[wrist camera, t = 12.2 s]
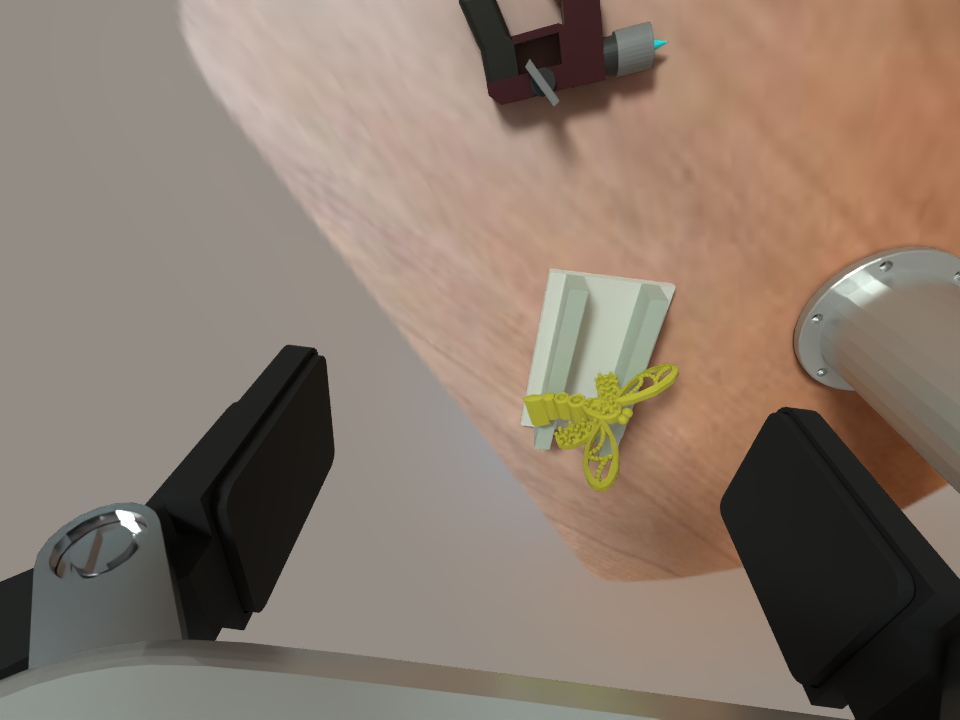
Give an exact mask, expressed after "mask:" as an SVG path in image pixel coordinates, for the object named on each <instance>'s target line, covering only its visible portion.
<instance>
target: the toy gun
mask: <svg viewBox="0 0 960 720" xmlns="http://www.w3.org/2000/svg"><path fill="white" fill-rule="evenodd" d="M459 4H460V6H461V9H462V11H463V13H464V15H465V18H466V20H467V22H468V24H469V27H470V29H471V31H472V33H473V36H474V38H475V40H476V43H477V45H478V47H479V49H480V51H481V55H482V60H483V66H484V71H485V76H486V81H487V88H488V94H489V96H490V97H491V98H493V99H494V100H496V101H497V102H498V103H500V104H501V105H503V104H507V103H511V102H515V101H519V100H523V99H527V98H531V97H535V96H547V98H548V99H549V101H550V102H551V103H552V106H555V105H556V104H557V103H558V102H559V99H558V98H557V96H556V95H555V94H554V91H558V90H562V89H566V88H570V87H571V88H573V87H577V86H581V85H585V84H589V83H593V82H597V81H601V80H605V79H606V78H605V76H609V75H613V74H615V77H620V76H624V75H628V74H632V73H636V72H640V71H644V70H648V69H651V68H652V66H653V61H654V50H656V49H658V48H659V47H661V46H662V45H664V44H665V43H667V42H669V41H660V40H654V34H653V29H652V25H651V23H650V22H645V23H642V24H638V25H634V26H631V27H627V28H623V29H620V30H616V31H613V33H612V35H611V36H608V37H604V38H602V24H601V11H600V0H562V2H561V3H560V9H561V18H562V24H559V23H558V24H554V25H551V26H547V27H543V28H540V29H536V30H533V31H529V32H526V33H522V34H518V35H515V36H511V35H510V33H509V30H508V28H507V26H506V23H505V21H504V18H503V16H502V13H501V11H500V8H499V6H498V4H497V1H496V0H459ZM555 34H557V43H558V51H559V60H560V64H558V65H554V66H550V67H546V68H539V69H536V67H535V66H534V64H533V63H532V62H531V60H530V59H529V61H528V63H527V64H526V66H525V67H526V69H527V70H528V72H527V73H523V74H520V75H519V71H518V65H517V59H516V52H515V46H514V45H518V44H522V43H526V42H529V41H533V40H537V39H540V38H544V37H547V36H551V35H555Z"/></svg>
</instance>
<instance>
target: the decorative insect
mask: <svg viewBox="0 0 960 720" xmlns="http://www.w3.org/2000/svg"><path fill="white" fill-rule="evenodd" d="M659 370H660V371H659ZM667 370H672V372H671V373H669V374H668V375H667V376H666V377H665V378H664V379H663V380H662V381H660V382H659V383H658V381H659V380H660V377H661V375H662V374H663V373H664V372H666V371H667ZM656 371H659V372H658V374H656V376H655V375H652V373H654V372H656ZM678 375H679V374H678V368H677V367H676V366H675V364H661V365H658V366H654V367H651V368H649V369H647V370H645V371H643V372H641V373H639V374H637V375H636V376H635V377H634V378H633V379H632V380H630V381H629V382H628V383H627V384H626V385H625V386H624V387H623V388H621V389H620V387H619V384H618V380H617V375H614V376H613V372H612V371H610V372H609V375H606V374H605V375H603V376H602V374H601V373H598V378H597V377H596V378H594V380H595V381H596V385H595V386H596V389H597V394H598V397H596V398H588V399H586V397H585V396H583V395H581V394H574V395H571V396H569V394H568V393H566V392H562V393H558V394H557V395H556V396H555V394H553V393H551V392H548V393H545V394H543V395H538V394H532V395H529V396H526V397H525V398H523V399H524V402H525V405H526V408H527V411H528V414H529V417H530V420H531V423H532V425H534V426H539V427H540V426H544V425H548V424H550V423H551V420H556V419H558V418H560V419H562V420H569V419H571V418H572V421H573V422H574V423H575V424H572V421H568V424H569V426H568V427H566V428H564V429H562V427H558V431H559V434H558V433H557V432H555V433H554V435H555V437H556V438H555V439H556V442H557V445H558V448H562V449H565V450H569V449H573V448H577V447H579V446H581V445H583V444H585V443H587V444H586V446H585V451H584V458H583V467H584V473H585V476H586V479H587V481H588V484H589V485H590V486H591V487H592V488H593V489H594V490H595V491H599V492H605V491H606V490H608V489H609V488H610V487H612V486H613V485H614V483H615V481H616V478H617V476H618V474H619V452H618V448H617V444H616V440H615V437H614V435H613V433H612V431H611V429H610V427H609V426H608V425H607V424H613V423H616V422H618V423H619V424H620V425H626V424H627V423H628V421H629V418H631V417H632V415H633V412H632V410H631V409H630V408H624V409H623V410H622V406H627V405H631V404H635V403H638V402H640V401H643V400H646V399H648V398H651V397H654V396H656V395H657V394H659V393H660V392H662V391H663V390H665V389H666V388H668V387H669V386H671V385H672V384H674V382H675V380H676V378H677V377H678ZM644 377H646V378H647V377H649V378H651V379H653V381H654V385H653V386H651V387H649V388H646V389H644V390H642V391H640V392H638V393H635V392H637V390H639V389H640V387H642V384H643V383H644V381H643V380H644V379H643V378H644ZM638 381H639V383H638V384H637V386H635V388H633V389H632V391H630V392H629V393H627V392H628V390H629V389H630V388H631V387H632V386H633V385H634V384H635V383H637V382H638ZM626 393H627V394H626ZM625 394H626V396H625ZM608 412H609V413H608ZM589 420H593V421H589ZM600 431H601V438H600V441H599V442H600V443H598V446H596V449H595V448H593V449H592V445H593V443H594V441H595V440H596V438H597V436H598V434H599V432H600ZM582 434H584V435H582ZM606 435H607V436H608V438H609V440H610V444H611V447H612V452H613V453H612V454H609V455H608V456H606V455H605V456H604V457H603V456H600V457H598V456H593V453H597V450H598V451H599V450H600V449H601V447H603V444H604V443H605V437H606ZM573 438H574V439H575V440H572V439H573ZM563 440H564V441H563ZM591 449H592V451H591ZM591 455H592V456H591ZM612 458H613V459H612ZM608 459H610V460H611V459H612V463H611V466H610V470H609V473H608V476H607V477H606V478H604V479H603V480H602V481H600V478H601V475H600V474H601V473H602V471H601V470H603V467H604V466H605V465H606V463H607V462H608V461H609V460H608ZM589 460H592V461H594V460H595V461H602V462H601V463H600V465H599V466H598V470H597V471H596V472H597V474H596V475H595V476H596V478H597V479H594V478H593V476H592V474H591V472H590V470H589Z"/></svg>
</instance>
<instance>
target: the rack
mask: <svg viewBox="0 0 960 720" xmlns="http://www.w3.org/2000/svg"><path fill="white" fill-rule="evenodd" d="M675 288H676V287H675V286H674V284H673V283H665V282H657V281H649V280H641V279H633V278H625V277H617V276H608V275H600V274H592V273H584V272H576V271H568V270H560V269H551V268H550V269H549V274H548V279H547V284H546V290H545V295H544V300H543V305H542V311H541V316H540V321H539V326H538V331H537V337H536V342H535V347H534V352H533V358H532V363H531V368H530V373H529V379H528V384H527V389H526V394H525V397H526V396H529V395H532V394H538V395H543V394H545V393H548V392H551V393H553V394H555V396H556V395H557V394H558V393H562V392H566V393H568V394H569V396H571V395H574V394H581V395H583V396H585V397H586V399H588V398H596V397H598V394H597V389H596V386H595V385H596V381H595V380H594V378H596V377H597V378H598V373H601V374H602V376H603V375H605V374H606V375H609V372H610V371H612V372H613V376H614V375H617V380H618V384H619V387H620V389H621V388H623V387H624V386H625V385H626V384H627V383H628V382H629V381H630V380H632V379H633V378H634V377H635V376H636V375H637V374H639V373H641V372H643V371H645V370H646V369H647V367H648V364H649V361H650V358H651V355H652V353H653V350H654V347H655V344H656V341H657V338H658V336H659V333H660V330H661V327H662V324H663V322H664V319H665V316H666V313H667V310H668V307H669V305H670V302H671V299H672V296H673V293H674V291H675ZM638 383H639V381H638V382H637V383H635V384H634V385H633V386H632V387H631V388H630V389H629V390H628V392H627V393H629V392H630V391H632V389H633V388H635V386H637V384H638ZM638 392H639V390H637V392H635V393H638ZM627 393H626V394H627ZM626 394H625V396H626ZM633 406H634V404H631V405H627V406H622V410H623V409H624V408H630V409H631V410H632V409H633ZM608 413H609V412H608ZM568 421H572V418H571V419H569V420H562V419H560V418H558V419H556V420H551V423H550V424H548V425H544V426H540V427H539V426H534V425H532V423H531V420H530V417H529V414H528V411H527V408H526V405H525V402H524V405H523V410H522V415H521V425H524V426H532V427H534V448H538V449H546V450H550V446H551V442H552V438H553V434H554V430H558V427H562V429H564V428H566V427H568V426H569V424H568ZM589 421H593V420H589ZM572 424H575V423H574V422H573V421H572ZM607 425H608V426H609V427H610V429H611V431H612V433H613V435H614V437H615V440H616V444H617V448H618V446H619V443H620V440H621V438H622V437H623V434H624V431H625V429H626V426H627V424H626V425H620V424H619V423H618V422H616V423H613V424H607ZM600 438H601V431H600V432H599V434H598V436H597V438H596V444H597V446H598V443H600V442H599V441H600ZM612 453H613V452H612V447H611V444H610V440H609V438H608V436H607V435H606V437H605V443H604V444H603V447H601V449H600V450H599V451H598V454H599V456H603V457H604V456H605V455H606V456H608V455H609V454H612Z"/></svg>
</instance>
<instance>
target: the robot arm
mask: <svg viewBox="0 0 960 720" xmlns="http://www.w3.org/2000/svg"><path fill="white" fill-rule="evenodd" d="M794 349H795V354H796V356H797V359H798V361H799V363H800V364H801V365H802V367H803V368H804V369H805V370H806V371H807V372H808V373H809V374H810V375H811V377H812V378H814V379H815V380H817V381H819V382H820V383H822V384H824V385H826V386H829V387H832V388H836V389H841V390H849V391H856V392H857V393H858V394H859V395H860V396H861V397H862V398H863V399H864V400H865V401H866V402H867V403H868V404H869V405H870V406H871V407H872V408H873V409H874V410H875V411H876V412H877V413H878V414H879V415H880V416H881V417H882V418H883V419H884V420H885V421H886V422H887V423H888V424H889V425H890V426H891V427H892V428H893V429H894V430H895V431H896V432H898V433H899V434H900V435H901V436H902V437H903V438H904V439H905V440H906V441H907V442H908V443H909V444H910V445H911V446H912V447H913V448H914V449H915V450H916V451H917V452H918V453H919V454H920V455H921V456H922V457H923V458H924V459H925V460H926V461H927V462H928V463H929V464H930V465H931V466H932V467H933V468H934V469H935V470H936V471H937V472H938V473H939V474H940V475H941V476H942V477H943V478H944V479H945V480H946V481H947V482H948V483H949V484H950V485H951V486H952V487H953V488H954V489H956V490H957V491H958V492H959V493H960V258H958V257H956V256H954V255H952V254H950V253H948V252H945V251H942V250H939V249H936V248H930V247H922V246H913V247H900V248H895V249H891V250H886V251H882V252H879V253H876V254H874V255H871V256H868V257H865V258H863V259H861V260H859V261H857V262H855V263H854V264H852V265H850V266H848V267H846V268H845V269H843V270H842V271H840V272H839V273H838V274H836V275H835V276H833V277H832V278H831V279H830V280H828V281H827V282H826V283H825V284H824V285H823V286H822V287H821V288H820V289H818V291H817V292H816V293H815V294H814V295H813V297H812V298H811V299H810V300H809V301H808V303H807V304H806V306H805V308H804V310H803V311H802V313H801V315H800V317H799V319H798V322H797V325H796V328H795V334H794ZM333 459H334V438H333V427H332V417H331V407H330V396H329V387H328V375H327V365H326V359H325V357H324V356H319V355H318V352H317V350H316V349H315V348H311V347H302V346H295V345H286V346H285V347H284V348H283V349H282V350H281V351H280V352H279V353H278V355H277V356H276V357H275V358H274V359H273V361H272V362H271V363H270V364H269V365H268V367H267V368H266V369H265V370H264V371H263V373H262V374H261V375H260V376H259V377H258V379H257V380H256V381H255V382H254V383H253V384H252V386H251V387H250V388H249V389H248V390H247V392H246V393H245V394H244V395H243V396H242V398H241V399H240V400H239V401H238V402H235V403H233V404H232V405H231V406H229V407H228V408H227V409H226V411H225V412H224V413H223V414H222V416H220V418H219V419H218V420H217V421H216V422H215V424H214V425H213V426H212V427H211V428H210V429H209V431H208V432H207V433H206V434H205V435H204V437H203V438H202V439H201V440H200V441H199V442H198V444H197V445H196V446H195V447H194V448H193V449H192V450H191V452H190V453H189V454H188V455H187V456H186V457H185V459H184V460H183V461H182V462H181V464H180V465H179V466H178V467H177V468H176V469H175V470H174V472H173V473H172V474H171V475H170V476H169V477H168V479H167V480H166V481H165V482H164V483H163V484H162V486H161V487H160V488H159V489H158V490H157V491H156V493H155V494H154V495H153V496H152V497H151V499H150V500H149V501H148V502H147V503H146V504H145V505H142V504H137V503H116V504H111V505H107V506H104V507H99V508H96V509H94V510H92V511H89V512H87V513H85V514H82V515H80V516H78V517H77V518H75V519H73V520H72V521H70V522H69V523H67V524H66V525H64V526H62V527H61V528H60V529H59V530H58V531H57V532H56V533H55V534H54V535H52V536H51V537H50V538H49V539H48V540H47V542H46V543H45V544H44V546H43V547H42V548H41V550H40V551H39V553H38V555H37V558H36V562H35V565H34V568H32V569H30V570H28V571H25V572H23V573H20V574H18V575H16V576H13V577H11V578H8V579H6V580H4V581H1V582H0V720H848V719H840V718H833V717H826V716H819V715H811V714H804V713H797V712H789V711H782V710H775V709H768V708H760V707H753V706H746V705H738V704H731V703H724V702H716V701H709V700H702V699H695V698H687V697H679V696H672V695H663V694H657V693H649V692H642V691H634V690H627V689H619V688H612V687H604V686H596V685H588V684H581V683H573V682H565V681H558V680H551V679H543V678H535V677H527V676H519V675H512V674H505V673H497V672H489V671H481V670H473V669H465V668H457V667H449V666H441V665H433V664H426V663H418V662H410V661H402V660H394V659H386V658H378V657H370V656H362V655H353V654H346V653H336V652H328V651H318V650H309V649H300V648H291V647H281V646H272V645H263V644H253V643H243V642H225V641H215V640H216V638H217V636H218V635H219V633H220V631H221V629H222V628H230V629H237V630H244V629H245V627H246V625H247V623H248V621H249V619H250V617H251V615H252V613H253V612H257V613H259V612H261V611H262V610H263V608H264V607H265V605H266V603H267V601H268V599H269V597H270V595H271V593H272V591H273V589H274V587H275V584H276V582H277V580H278V578H279V576H280V574H281V572H282V569H283V568H284V565H285V563H286V561H287V559H288V557H289V554H290V553H291V551H292V548H293V546H294V544H295V542H296V540H297V538H298V536H299V534H300V531H301V529H302V527H303V525H304V523H305V521H306V519H307V517H308V515H309V513H310V510H311V508H312V506H313V504H314V502H315V500H316V498H317V496H318V494H319V491H320V489H321V487H322V485H323V483H324V481H325V479H326V476H327V474H328V472H329V470H330V468H331V466H332V463H333ZM720 512H721V516H722V518H723V521H724V523H725V525H726V527H727V530H728V532H729V534H730V536H731V539H732V541H733V543H734V545H735V548H736V550H737V552H738V555H739V557H740V559H741V561H742V564H743V566H744V568H745V570H746V573H747V575H748V577H749V579H750V582H751V584H752V586H753V589H754V591H755V593H756V595H757V598H758V600H759V602H760V604H761V607H762V609H763V611H764V613H765V616H766V618H767V620H768V623H769V625H770V627H771V629H772V631H773V634H774V636H775V638H776V641H777V643H778V645H779V647H780V650H781V652H782V654H783V656H784V659H785V661H786V663H787V666H788V668H789V670H790V672H791V674H792V676H793V677H794V678H795V679H796V681H797V682H799V683H800V684H802V685H803V688H804V690H805V692H806V694H807V696H808V698H809V701H810V703H811V705H815V706H823V707H831V708H838V709H843V708H844V707H845V706H847V705H849V707H850V709H851V711H852V713H853V715H854V717H855V720H960V579H959V578H958V577H957V576H956V574H955V573H954V572H953V571H952V570H951V568H950V567H949V566H948V565H947V564H946V563H945V561H944V560H943V559H942V558H941V557H940V555H938V553H937V552H936V551H935V550H934V549H933V547H932V546H931V545H930V544H929V543H928V541H927V540H926V539H925V538H924V537H923V536H922V534H921V533H920V532H919V531H918V530H917V528H916V527H915V526H914V525H913V524H912V523H911V521H910V520H909V519H908V518H907V517H906V515H905V514H904V513H903V512H902V511H901V510H900V508H899V507H898V506H897V505H896V504H895V503H894V501H893V500H892V499H891V498H890V497H889V495H888V494H887V493H886V492H885V491H884V490H883V488H882V487H881V486H880V485H879V484H878V482H877V481H876V480H875V479H874V478H873V477H872V475H871V474H870V473H869V472H868V471H867V470H866V468H865V467H864V466H863V465H862V464H861V462H860V461H859V460H858V459H857V458H856V457H855V455H854V454H853V453H852V452H851V451H850V450H849V448H848V447H847V446H846V445H845V444H844V442H843V441H842V440H841V439H840V438H839V437H838V435H837V434H836V433H835V432H834V431H833V429H832V428H831V427H830V426H829V425H828V424H827V422H826V421H825V420H824V419H823V418H822V417H821V415H820V414H818V413H817V412H816V411H812V410H806V409H798V408H790V407H783V408H781V409H779V410H778V411H777V412H776V413H772V414H770V415H769V416H768V418H767V419H766V421H765V423H764V425H763V426H762V428H761V430H760V432H759V433H758V435H757V437H756V439H755V440H754V442H753V444H752V446H751V448H750V449H749V451H748V453H747V455H746V456H745V458H744V460H743V462H742V464H741V465H740V467H739V469H738V471H737V472H736V474H735V476H734V478H733V479H732V481H731V483H730V485H729V487H728V488H727V490H726V492H725V494H724V495H723V497H722V500H721V503H720Z"/></svg>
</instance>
